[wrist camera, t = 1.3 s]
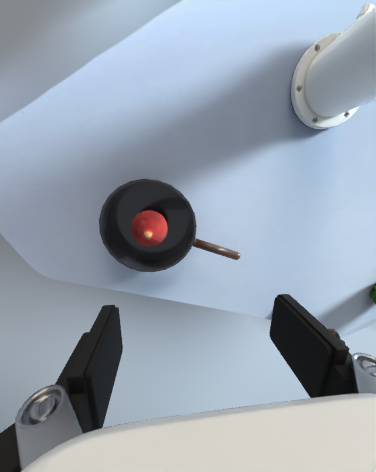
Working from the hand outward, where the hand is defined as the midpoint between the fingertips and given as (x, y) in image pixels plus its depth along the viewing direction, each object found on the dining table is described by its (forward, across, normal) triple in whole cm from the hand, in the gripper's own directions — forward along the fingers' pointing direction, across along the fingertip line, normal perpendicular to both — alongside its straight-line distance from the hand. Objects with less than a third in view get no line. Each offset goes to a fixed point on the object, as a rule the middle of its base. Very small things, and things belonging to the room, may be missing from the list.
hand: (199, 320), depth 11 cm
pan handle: (+22, -7, +3) cm, 23 cm away
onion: (+25, +4, -1) cm, 25 cm away
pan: (+25, +5, -1) cm, 25 cm away
